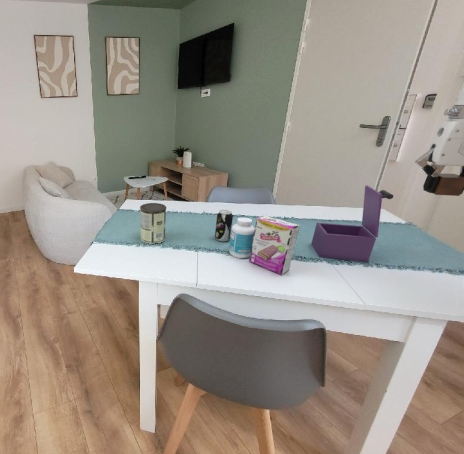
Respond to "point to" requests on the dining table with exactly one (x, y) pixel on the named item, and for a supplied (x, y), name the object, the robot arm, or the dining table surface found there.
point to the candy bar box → (273, 244)
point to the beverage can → (223, 225)
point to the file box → (343, 242)
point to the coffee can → (153, 222)
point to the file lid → (373, 209)
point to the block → (450, 185)
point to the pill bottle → (242, 238)
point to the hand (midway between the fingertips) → (442, 191)
